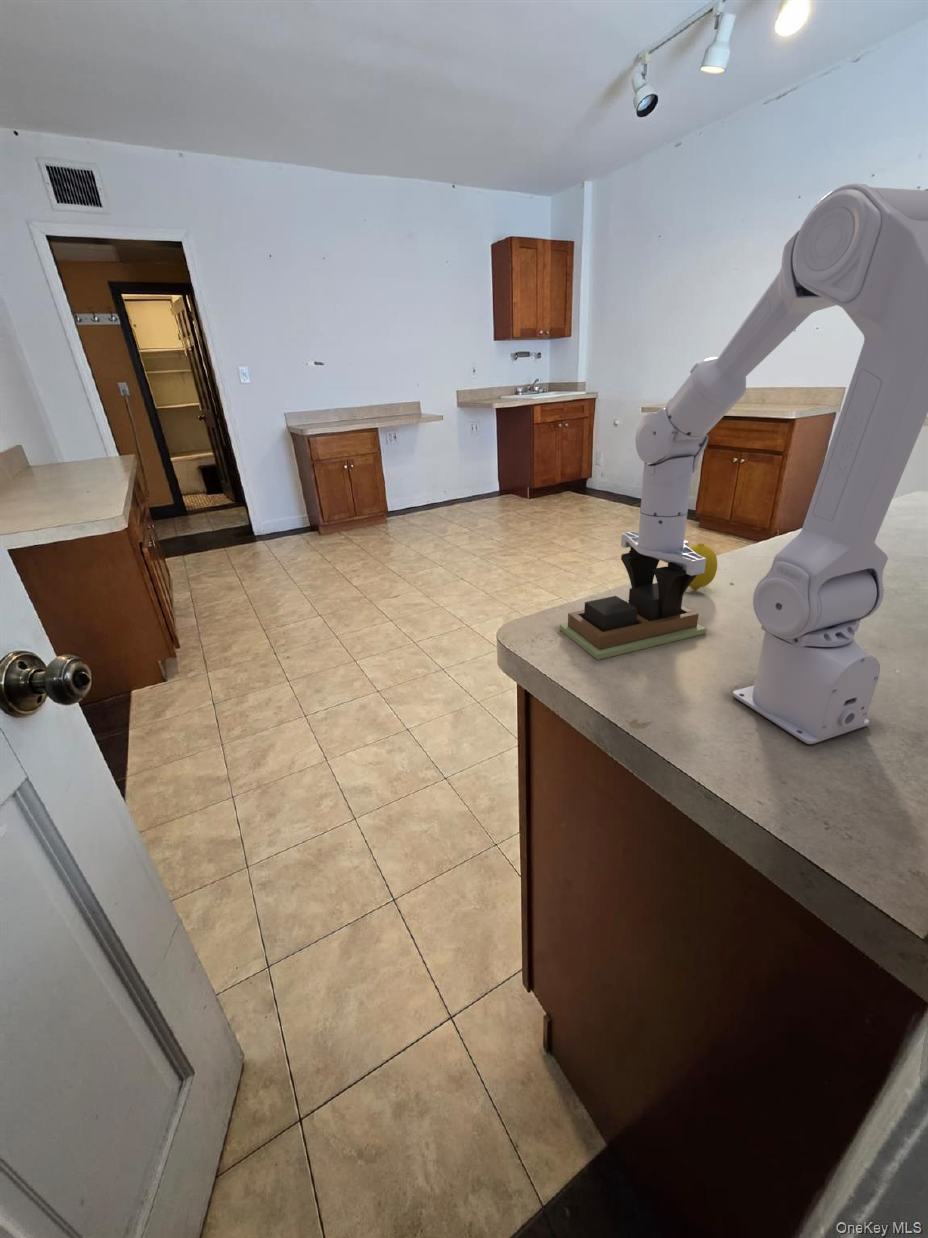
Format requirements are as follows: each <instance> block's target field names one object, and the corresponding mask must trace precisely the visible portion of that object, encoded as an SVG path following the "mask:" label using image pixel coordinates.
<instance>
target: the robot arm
mask: <svg viewBox="0 0 928 1238" xmlns="http://www.w3.org/2000/svg"><path fill="white" fill-rule="evenodd" d="M800 226H801V227H800V229H798V230H797V231H796V232H795V233H794V234H793V235H792V236H791V237H790V239H788V240H787V241H786V243H785V245H784V247H783V252H782V257H781V267H780V270H779V271H778V273H777V274H776V276H775V277H774V279H773V280H772V282H771V283H770V284H769V285H768V287H767V289H766V290H765V291H764V293H763V294H762V296H761V297H760V298H759V300H758V301H756V303H755V305H754V306H753V308H752V309H751V311H750V312H749V314H748V315H747V316H746V318H745V319H744V320H743V322H742V323H741V324H740V326H739V327H738V329H737V330H736V331H735V333H734V335H733V336H732V337H731V339H730V340H729V341H728V343H727V344H726V346H725V347H724V349H723V350H722V352H721V353H720V354H719V356H713V357H707V358H705V359H702V360H701V361H700V362H696V363H695V364H694V365H693V366H692V368H691V369H690V370H689V373H690V374H689V376H687V378H686V380H685V381H684V382H683V384H682V385H681V386H680V387H679V389H678V390H677V391H676V392H675V393H674V395H673V396H672V397H671V398H669V400H668V401H667V402H666V405H665V407H663V408H658V411H654V412H653V411H652V412H649V413H646V414H645V415H644V416H643V417H642V419H641V421H640V423H639V425H638V427H637V429H636V432H635V449H636V452H637V455H638V457H639V459H640V461H642V462H643V470H642V472H643V473H642V485H641V498H640V499H641V500H640V512H639V522H638V523H639V524H638V532H636V531H628V532H622V533H621V539H620V542H621V543H620V546H621V547H622V548H630V549H629V551H628V552H626V553H622V554H621V556H620V559H621V562H622V564H623V566H624V567H625V569H626V572H627V575H628V579H629V582H630V586H631V587H630V588H634V587H639V586H644V585H649V584H654V578H655V579H656V583H657V584H658V591H659V603H658V606H659V615H660V616H661V617H668V616H672V615H675V612H676V610H677V608H678V605H679V603H680V601H681V598H682V596H683V597H684V594H685V592H686V591H687V589H688V588H689V587H690V586H689V585H690V583H691V582H692V581H693V579H694V578H695V577H696V576H697V575H698V574H702V573H704V572H705V564H706V558H704V557H702V556H700V555H698V554H697V553H695V552H694V551H693V550H691V549H690V547H689V545H690V544H689V543H690V541H688V540H686V539H685V538H686V529H687V528H686V527H687V519H688V512H689V511H688V510H689V501H690V493H691V486H692V485H691V484H692V476H693V474H694V473H695V471H696V470H697V469H698V461H699V459H700V457H701V455H702V454H703V452H704V451H705V449H706V448H707V444H708V441H709V435H708V433H709V432H710V431H711V430H712V429H713V428H714V427H715V426H716V425H717V424H718V423H719V422H720V421H721V420H722V418H724V416H726V414H728V412H729V411H730V410H731V409H732V408H733V407H734V406H735V405H736V404H737V403H738V402H739V401H740V400H741V399H742V398H743V397H744V395H745V393H746V389H747V376H748V375H749V374H750V373H751V372H753V371H754V370H755V368H757V367H758V366H759V365H760V364H761V363H762V362H763V361H764V360H765V359H766V358H767V357H768V356H769V355H771V353H772V352H773V351H774V350H775V349H776V348H777V347H778V346H780V345H781V343H782V342H784V341H785V340H786V339H787V338H788V337H789V335H791V334H792V333H793V332H794V331H796V329H797V328H798V327H799V326H800V325H801V324H802V323H804V321H805V320H806V319H807V318H808V317H809V316H810V315H812V314H813V313H815V312H818V311H821V310H826V309H829V308H832V307H835V306H838V307H840V308H842V309H843V311H844V312H845V313H846V314H847V316H848V317H849V318H850V320H851V321H852V322H853V324H854V325H855V326H856V327H857V329H858V330H859V331H860V332H861V334H862V335H863V343H862V347H861V350H860V352H859V356H858V359H857V361H856V365H855V368H854V371H853V373H852V377H851V380H850V383H849V385H848V386H849V387H848V388H847V392H846V395H845V398H844V400H843V401H844V402H843V404H842V407H841V410H840V413H839V416H838V419H837V422H836V425H835V428H834V431H833V434H832V438H831V440H830V443H829V446H828V449H827V452H826V454H825V455H826V456H825V458H824V462H823V465H822V467H821V471H820V473H819V476H818V479H817V483H816V486H815V488H814V492H813V493H812V498H811V501H810V504H809V507H808V508H807V509H808V510H807V513H806V516H805V519H804V521H803V525H802V528H801V530H800V532H799V533H798V534H797V535H796V536H795V537H794V538H793V539H791V541H789V542H788V543H787V544H786V545H785V546H784V547H783V548H782V549H781V550H780V551H778V552H777V554H775V555H774V558H773V561H772V564H771V566H770V569H769V571H768V572H767V573H766V574H765V576H763V578H761V579H760V580H759V582H758V583H757V584H756V586H755V588H754V592H753V594H752V595H753V597H752V605H753V611H754V614H755V616H756V619H757V620H758V622H759V623H760V627H761V628H760V629H761V630H762V631H764V635H763V639H762V644H761V650H760V654H759V658H758V659H759V660H758V664H757V669H756V674H755V679H754V684H753V685H750V686H746V687H743V688H739V689H736V690H734V691H732V697H734V698H735V699H737V701H740V702H741V703H743V704H744V705H746V706H747V707H749V708H751V709H752V710H753V711H755V712H757V713H758V714H760V715H761V716H763V717H765V718H766V719H768V720H769V721H770V722H773V723H774V724H776V725H777V726H779V727H780V728H781V729H783V730H785V731H786V732H788V733H789V734H791V735H792V736H794V737H796V738H797V739H799V740H800V741H802V742H803V743H804V744H807V745H814V744H817V743H820V742H823V741H826V740H829V739H831V738H835V737H837V736H840V735H843V734H847V733H850V732H852V731H855V730H858V729H862V728H864V727H867V726H869V724H870V720H869V719H868V718H867V715H868V712H869V708H870V706H871V702H872V699H873V696H874V694H875V693H874V692H875V690H876V687H877V684H878V681H879V677H880V672H881V666H880V662H879V660H878V659H877V658H876V657H875V656H873V655H871V654H869V652H867V651H865V650H864V649H863V648H862V647H861V646H860V645H859V644H858V643H857V642H856V640H855V639H854V638H855V634H856V632H858V630H859V626H860V623H861V621H862V620H864V619H866V618H869V617H870V616H872V615H873V614H874V613H875V612H876V611H878V609H879V608H880V607H881V604H882V602H883V599H884V591H885V589H884V582H883V576H884V570H885V567H886V565H887V563H888V560H889V557H888V555H887V553H885V552H884V551H883V549H882V548H881V547H880V546H879V545H877V543H876V542H875V541H876V539H877V537H878V534H879V532H880V529H881V527H882V525H883V522H884V520H885V517H886V515H887V512H888V510H889V508H890V505H891V503H892V501H893V498H894V496H895V494H896V491H897V489H898V486H899V484H900V481H901V478H902V476H903V474H904V471H905V469H906V467H907V465H908V462H909V459H910V458H911V454H912V452H913V450H914V448H915V445H916V442H917V440H918V438H919V436H920V433H921V430H922V428H923V425H924V423H925V421H926V418H927V416H928V188H926V189H923V190H922V189H907V188H893V187H892V188H890V187H874V186H869V185H868V184H864V183H847V184H845V185H841V186H839V187H837V188H835V189H833V190H832V191H830V192H828V193H827V194H826V195H825V196H824V197H822V198H821V199H820V200H819V201H818V202H817V203H816V204H815V205H814V206H813V208H812V209H811V210H810V211H809V213H808V215H806V218H805V219H804V221H803V223H802V225H800ZM660 561H661V562H664V563H666V564H667V566H666V565H665V566H660V567H658V565H659V563H660ZM682 599H683V598H682Z"/></svg>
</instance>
